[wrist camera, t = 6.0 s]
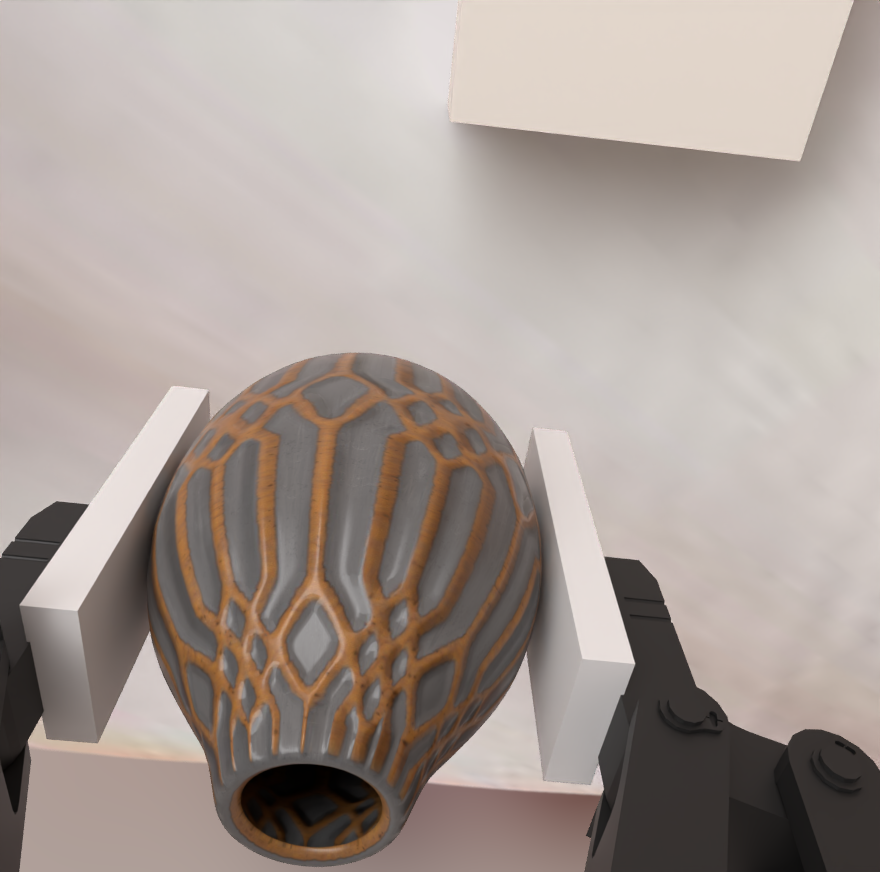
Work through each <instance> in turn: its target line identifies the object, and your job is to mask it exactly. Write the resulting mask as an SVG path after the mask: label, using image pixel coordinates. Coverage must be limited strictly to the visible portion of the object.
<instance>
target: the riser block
mask: <svg viewBox="0 0 880 872" xmlns="http://www.w3.org/2000/svg"><path fill="white" fill-rule="evenodd" d="M853 2H854V0H458V7H457V17H456V26H455V36H454V46H453V56H452V65H451V75H450V85H449V95H448V112H449V119H450V122H457V123H466V124H475V125H484V126H493V127H501V128H510V129H519V130H528V131H537V132H545V133H554V134H563V135H572V136H581V137H589V138H598V139H607V140H616V141H625V142H633V143H642V144H651V145H660V146H669V147H677V148H686V149H695V150H704V151H713V152H721V153H730V154H739V155H748V156H757V157H765V158H774V159H783V160H792V161H800V160H801V157H802V154H803V151H804V148H805V145H806V142H807V139H808V136H809V133H810V130H811V127H812V124H813V121H814V118H815V115H816V112H817V109H818V106H819V103H820V100H821V97H822V94H823V91H824V88H825V85H826V82H827V79H828V76H829V73H830V70H831V67H832V64H833V61H834V58H835V55H836V52H837V49H838V46H839V43H840V40H841V37H842V34H843V31H844V28H845V25H846V22H847V19H848V16H849V13H850V11H851V8H852V5H853Z"/></svg>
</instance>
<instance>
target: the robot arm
mask: <svg viewBox="0 0 880 872" xmlns="http://www.w3.org/2000/svg"><path fill="white" fill-rule="evenodd" d="M209 422H210V407H209V390H207V389H198V388H189V387H181V386H172V387H171V388H170V390H169V391H168V393H167V394H166V395H165V397H164V398H163V400H162V401H161V403H160V404H159V405H158V407H157V408H156V410H155V411H154V413H153V414H152V416H151V417H150V418H149V420H148V421H147V423H146V424H145V426H144V427H143V428H142V430H141V431H140V433H139V434H138V436H137V437H136V439H135V440H134V441H133V443H132V444H131V446H130V447H129V449H128V450H127V451H126V453H125V454H124V456H123V457H122V459H121V460H120V461H119V463H118V464H117V466H116V467H115V469H114V470H113V472H112V473H111V474H110V476H109V477H108V479H107V480H106V482H105V483H104V484H103V486H102V487H101V489H100V490H99V492H98V493H97V495H96V496H95V497H94V499H93V500H92V502H91V503H90V505H87V504H77V503H68V502H58V501H57V502H55V503H53V504H52V505H50V506H49V507H47V508H45V509H44V510H42V511H41V512H39V513H37V514H36V515H34V516H33V517H31V518H30V519H29V521H28V522H27V523H26V525H25V526H24V527H23V528H22V530H21V531H20V532H19V533H18V535H17V536H16V537H15V541H14V542H11V543H10V545H9V546H8V547H7V548H6V550H5V551H4V552H3V554H2V558H0V872H19V868H20V858H21V849H22V840H23V830H24V820H25V812H26V802H27V792H28V784H29V774H30V765H31V757H30V752H29V746H28V739H29V737H30V735H31V733H32V732H33V730H34V728H35V726H36V724H37V723H38V721H39V719H40V717H41V716H42V718H43V723H44V728H45V733H46V738H47V739H52V740H64V741H76V742H88V743H98V742H99V740H100V738H101V735H102V733H103V731H104V729H105V727H106V725H107V722H108V720H109V718H110V716H111V714H112V712H113V709H114V707H115V705H116V703H117V701H118V698H119V696H120V694H121V692H122V690H123V688H124V685H125V683H126V681H127V679H128V677H129V675H130V672H131V670H132V668H133V666H134V664H135V662H136V659H137V657H138V655H139V653H140V651H141V649H142V646H143V644H144V642H145V640H146V638H147V636H148V633H149V631H150V626H149V620H148V609H147V574H148V561H149V554H150V547H151V541H152V534H153V530H154V526H155V522H156V519H157V515H158V512H159V508H160V505H161V502H162V500H163V497H164V494H165V492H166V490H167V488H168V486H169V484H170V482H171V480H172V478H173V476H174V474H175V472H176V470H177V468H178V466H179V464H180V463H181V461H182V460H183V458H184V456H185V455H186V453H187V452H188V450H189V448H190V447H191V445H192V444H193V442H194V441H195V440H196V438H197V437H198V436H199V434H200V433H201V432H202V430H203V429H204V428H205V427H206V425H207V424H208V423H209ZM523 470H524V473H525V475H526V478H527V481H528V484H529V487H530V490H531V493H532V496H533V501H534V505H535V509H536V513H537V518H538V522H539V529H540V537H541V546H542V580H541V591H540V597H539V604H538V609H537V615H536V619H535V623H534V627H533V631H532V635H531V638H530V642H529V645H528V648H527V658H528V666H529V673H530V681H531V689H532V696H533V704H534V712H535V719H536V727H537V735H538V742H539V750H540V758H541V765H542V773H543V780H544V781H551V782H563V783H575V784H586V785H591V782H592V779H593V777H594V774H595V771H596V768H597V766H598V763H599V766H600V770H601V775H602V780H603V785H604V791H603V793H602V796H601V798H600V801H599V804H598V806H597V809H596V811H595V814H594V816H593V819H592V822H591V824H590V827H589V830H588V832H587V835H586V836H588V837H590V838H591V842H590V847H589V851H588V857H587V862H586V867H585V872H880V770H879V769H878V767H877V766H876V764H875V763H874V761H873V760H872V759H871V758H870V757H868V756H867V755H866V754H865V753H864V752H863V751H862V750H861V749H860V748H859V747H858V746H856V745H854V744H853V743H851V742H849V741H848V740H846V739H844V738H843V737H841V736H839V735H836V734H833V733H830V732H827V731H824V730H810V729H805V730H803V731H800V732H798V733H796V734H794V735H793V736H792V738H791V740H790V742H789V743H788V745H784V744H781V743H778V742H776V741H773V740H770V739H767V738H765V737H762V736H759V735H756V734H754V733H751V732H748V731H746V730H744V729H741V728H739V727H737V726H735V725H733V724H731V723H730V722H728V718H727V716H726V714H725V713H724V711H723V710H722V708H721V707H720V705H719V704H718V703H717V702H716V701H715V700H714V699H713V698H712V697H710V696H709V695H708V694H707V693H706V692H705V691H703V690H701V689H699V688H697V687H696V685H695V682H694V679H693V677H692V674H691V671H690V669H689V666H688V663H687V660H686V658H685V655H684V652H683V650H682V647H681V644H680V642H679V639H678V636H677V634H676V631H675V628H674V625H673V623H671V617H670V615H669V612H668V609H667V607H666V605H664V598H663V596H662V593H661V590H660V588H659V585H658V582H657V580H656V579H655V578H654V577H653V575H652V574H651V573H650V572H649V571H648V570H647V569H646V568H645V567H644V565H643V564H642V563H641V562H640V561H639V560H631V559H621V558H612V557H604V555H603V552H602V548H601V545H600V542H599V538H598V535H597V531H596V528H595V524H594V521H593V518H592V514H591V511H590V507H589V504H588V501H587V497H586V494H585V490H584V487H583V483H582V480H581V477H580V473H579V470H578V466H577V463H576V459H575V456H574V453H573V449H572V446H571V442H570V439H569V435H568V432H567V431H562V430H554V429H545V428H536V427H533V428H532V433H531V437H530V442H529V446H528V451H527V455H526V460H525V464H524V469H523Z"/></svg>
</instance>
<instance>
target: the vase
mask: <svg viewBox="0 0 880 872" xmlns="http://www.w3.org/2000/svg"><path fill="white" fill-rule="evenodd" d="M541 580H542V546H541V537H540V529H539V522H538V518H537V513H536V509H535V505H534V501H533V496H532V493H531V490H530V487H529V484H528V481H527V478H526V475H525V473H524V470H523V467H522V465H521V463H520V460H519V458H518V456H517V454H516V453H515V451H514V449H513V447H512V446H511V444H510V442H509V441H508V439H507V438H506V436H505V435H504V433H503V432H502V430H501V429H500V427H499V426H498V425H497V423H496V422H495V421H494V420H493V418H492V417H491V416H490V415H489V414H488V413H487V412H486V411H485V410H484V409H483V408H482V407H481V406H480V405H479V404H478V403H477V402H476V401H475V400H474V399H473V398H472V397H471V396H470V395H469V394H468V393H467V392H465V391H464V390H463V389H461V388H460V387H459V386H457V385H456V384H455V383H453V382H451V381H450V380H448V379H447V378H445V377H443V376H441V375H440V374H438V373H436V372H434V371H432V370H430V369H427V368H425V367H423V366H421V365H418V364H415V363H413V362H410V361H407V360H403V359H400V358H396V357H391V356H386V355H380V354H372V353H341V354H331V355H324V356H318V357H314V358H310V359H306V360H303V361H300V362H297V363H294V364H291V365H289V366H286V367H284V368H282V369H280V370H278V371H276V372H274V373H272V374H270V375H268V376H266V377H264V378H262V379H260V380H259V381H257V382H255V383H254V384H252V385H251V386H249V387H248V388H247V389H245V390H244V391H242V392H241V393H240V394H239V395H237V396H236V397H235V398H233V399H232V400H231V401H230V402H228V403H227V404H226V405H225V406H224V407H223V408H222V409H221V410H220V411H219V412H218V413H217V414H216V415H215V416H214V417H213V418H212V419H211V420H210V422H209V423H208V424H207V425H206V427H205V428H204V429H203V430H202V432H201V433H200V434H199V436H198V437H197V438H196V440H195V441H194V442H193V444H192V445H191V447H190V448H189V450H188V452H187V453H186V455H185V456H184V458H183V460H182V461H181V463H180V464H179V466H178V468H177V470H176V472H175V474H174V476H173V478H172V480H171V482H170V484H169V486H168V488H167V490H166V492H165V494H164V497H163V500H162V502H161V505H160V508H159V512H158V515H157V519H156V522H155V526H154V530H153V534H152V541H151V547H150V554H149V561H148V574H147V609H148V620H149V626H150V633H151V638H152V643H153V647H154V650H155V653H156V657H157V660H158V663H159V666H160V668H161V671H162V673H163V676H164V678H165V680H166V682H167V684H168V686H169V688H170V690H171V692H172V694H173V696H174V698H175V700H176V702H177V704H178V706H179V707H180V709H181V711H182V713H183V715H184V716H185V718H186V720H187V722H188V724H189V725H190V727H191V729H192V731H193V732H194V734H195V736H196V737H197V739H198V741H199V742H200V744H201V746H202V748H203V750H204V752H205V755H206V759H207V762H208V766H209V771H210V777H211V784H212V790H213V797H214V802H215V807H216V811H217V814H218V817H219V819H220V821H221V823H222V825H223V826H224V828H225V829H226V830H227V831H228V833H229V834H230V835H231V836H232V837H233V838H234V839H236V840H237V841H238V842H239V843H241V844H242V845H244V846H245V847H247V848H248V849H250V850H252V851H254V852H256V853H258V854H260V855H262V856H264V857H267V858H270V859H273V860H276V861H280V862H283V863H287V864H292V865H299V866H312V867H325V866H336V865H343V864H348V863H352V862H356V861H359V860H362V859H365V858H367V857H370V856H372V855H373V854H376V853H377V852H379V851H381V850H383V849H384V848H385V847H387V846H388V845H389V844H390V843H391V842H392V841H393V840H394V839H395V838H396V837H397V836H398V834H399V833H400V831H401V830H402V828H403V826H404V825H405V822H406V821H407V819H408V817H409V815H410V813H411V810H412V809H413V806H414V804H415V802H416V800H417V799H418V797H419V795H420V793H421V791H422V789H423V788H424V786H425V784H426V783H427V782H428V780H429V779H430V777H431V776H432V775H433V774H434V773H435V772H436V771H437V770H438V769H439V768H440V767H441V766H442V765H444V764H445V763H446V762H447V761H448V760H449V759H450V758H451V757H452V756H453V755H454V754H455V753H456V752H457V751H458V750H459V749H460V748H461V747H462V746H463V745H464V744H465V743H466V742H467V741H468V740H469V739H470V738H471V737H472V736H473V735H474V734H475V732H476V731H477V730H478V729H479V728H480V727H481V726H482V725H483V724H484V723H485V721H486V720H487V719H488V718H489V717H490V716H491V714H492V713H493V712H494V711H495V709H496V708H497V706H498V705H499V704H500V702H501V701H502V699H503V698H504V696H505V695H506V693H507V692H508V690H509V688H510V686H511V685H512V683H513V681H514V679H515V677H516V675H517V672H518V670H519V668H520V666H521V664H522V661H523V659H524V656H525V653H526V650H527V648H528V645H529V642H530V638H531V635H532V631H533V627H534V623H535V619H536V615H537V609H538V604H539V597H540V591H541Z"/></svg>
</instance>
